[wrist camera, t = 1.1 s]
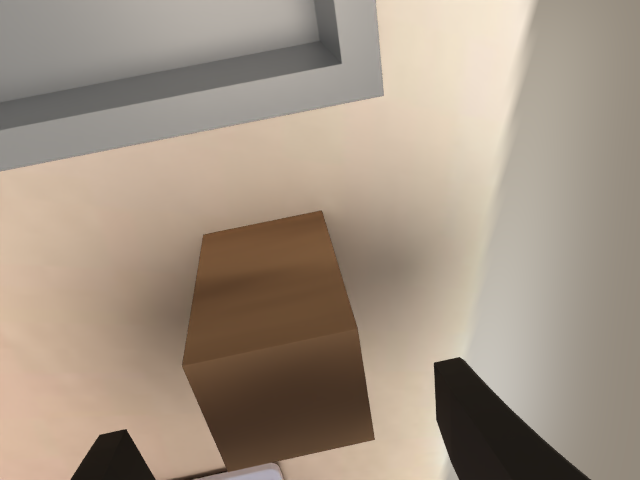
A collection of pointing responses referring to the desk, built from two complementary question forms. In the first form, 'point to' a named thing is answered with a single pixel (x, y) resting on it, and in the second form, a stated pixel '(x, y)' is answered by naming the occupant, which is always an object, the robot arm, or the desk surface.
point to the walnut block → (275, 344)
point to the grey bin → (172, 68)
